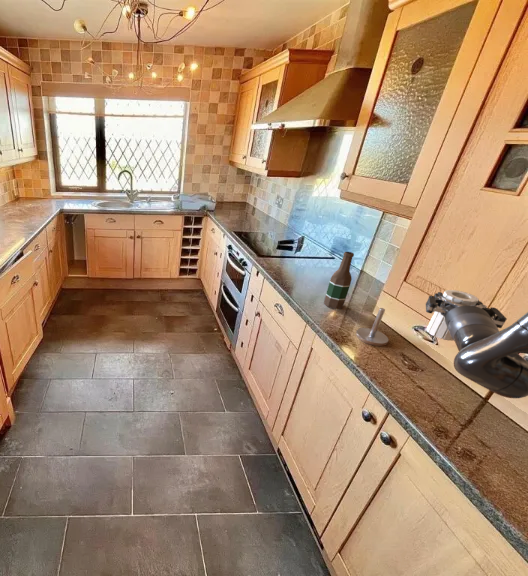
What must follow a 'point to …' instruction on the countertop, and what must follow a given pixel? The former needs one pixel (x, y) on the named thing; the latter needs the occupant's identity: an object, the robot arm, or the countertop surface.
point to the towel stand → (373, 332)
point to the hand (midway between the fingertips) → (455, 298)
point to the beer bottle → (339, 283)
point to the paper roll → (437, 322)
